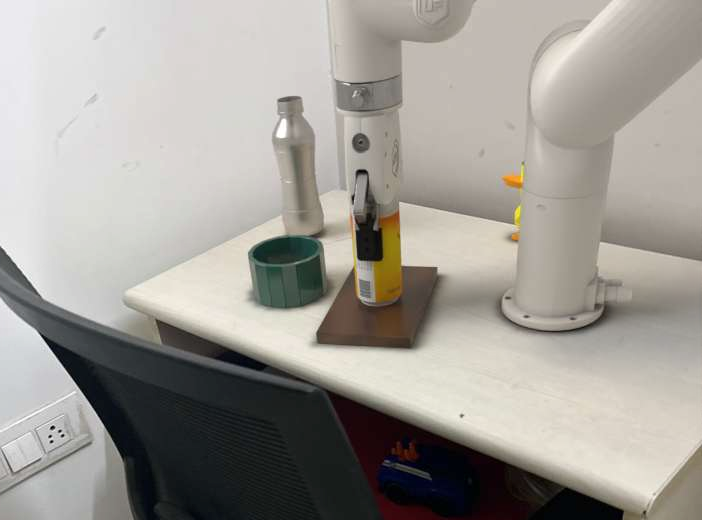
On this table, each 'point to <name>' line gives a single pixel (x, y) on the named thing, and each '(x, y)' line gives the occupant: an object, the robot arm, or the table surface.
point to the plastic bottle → (297, 168)
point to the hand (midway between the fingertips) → (376, 247)
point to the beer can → (382, 276)
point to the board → (379, 313)
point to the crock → (288, 271)
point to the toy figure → (517, 183)
